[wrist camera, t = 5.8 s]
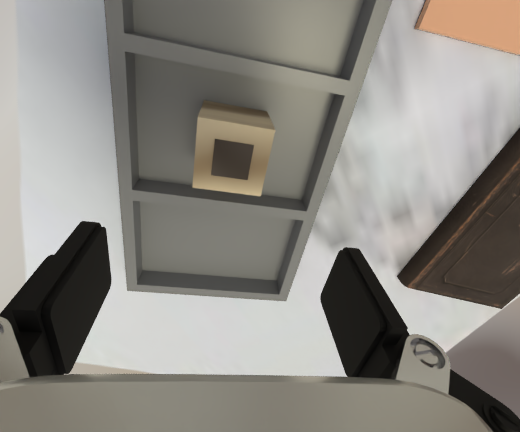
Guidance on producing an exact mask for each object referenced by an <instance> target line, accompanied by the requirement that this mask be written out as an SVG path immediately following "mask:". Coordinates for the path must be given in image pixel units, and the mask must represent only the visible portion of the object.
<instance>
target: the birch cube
mask: <svg viewBox="0 0 520 432" xmlns="http://www.w3.org/2000/svg"><path fill="white" fill-rule="evenodd" d="M274 134H275V128H274V126H273V124H272V121H271V119H270V117H269V114H268V112H267V111H261V110H256V109H250V108H245V107H239V106H234V105H228V104H223V103H217V102H212V101H206V100H204V102H203V104H202V107H201V110H200V112H199V115H198V119H197V133H196V146H195V160H194V173H193V187H192V188H199V189H207V190H215V191H223V192H230V193H238V194H246V195H253V196H261V193H262V188H263V184H264V179H265V175H266V170H267V166H268V161H269V157H270V152H271V148H272V143H273V139H274Z"/></svg>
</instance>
